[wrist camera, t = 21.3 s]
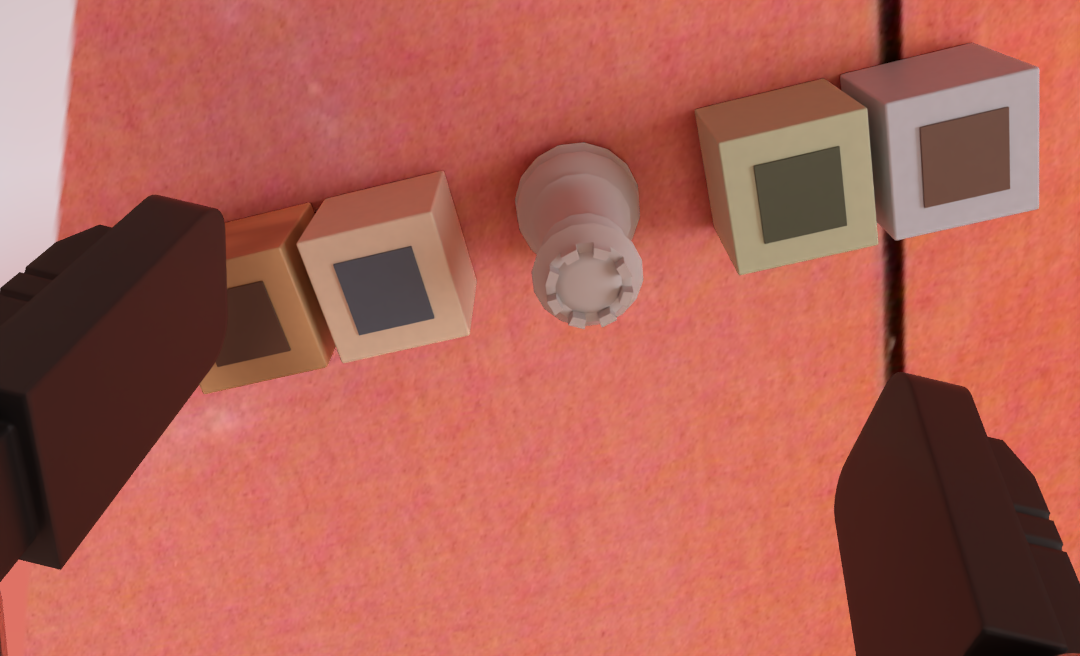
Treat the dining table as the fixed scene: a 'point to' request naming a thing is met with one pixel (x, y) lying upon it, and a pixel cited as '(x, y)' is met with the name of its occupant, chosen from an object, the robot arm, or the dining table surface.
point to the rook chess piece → (581, 233)
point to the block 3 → (789, 175)
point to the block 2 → (390, 267)
